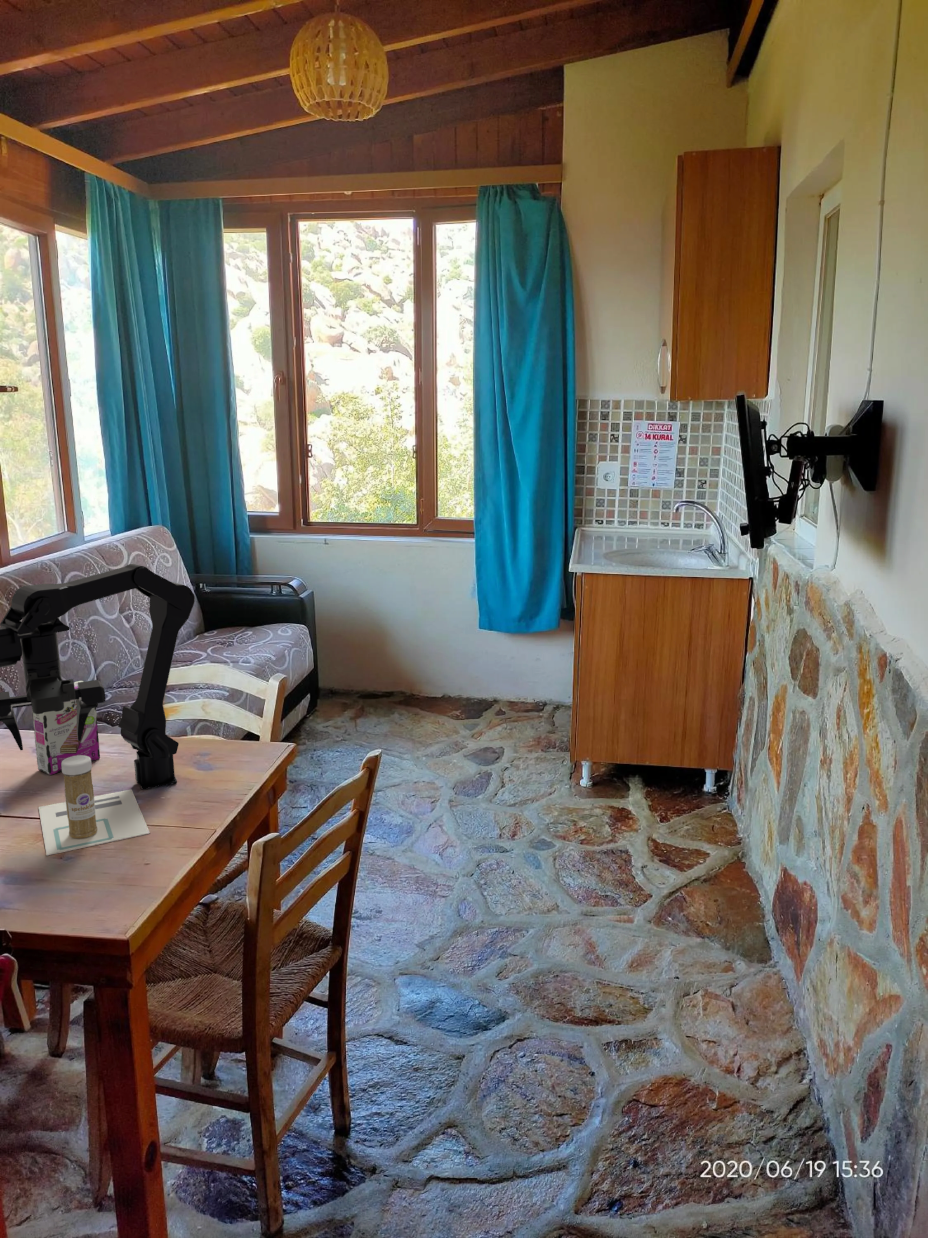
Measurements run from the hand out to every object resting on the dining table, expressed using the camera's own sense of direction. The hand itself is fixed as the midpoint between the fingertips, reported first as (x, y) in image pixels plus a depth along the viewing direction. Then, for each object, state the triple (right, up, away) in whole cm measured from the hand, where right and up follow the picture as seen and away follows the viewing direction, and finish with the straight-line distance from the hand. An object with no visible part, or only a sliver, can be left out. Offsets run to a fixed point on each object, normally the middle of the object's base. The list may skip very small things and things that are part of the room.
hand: (50, 745), depth 153 cm
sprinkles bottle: (+8, -15, -5) cm, 17 cm away
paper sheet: (+7, -13, 0) cm, 15 cm away
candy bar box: (-8, -8, +25) cm, 27 cm away
